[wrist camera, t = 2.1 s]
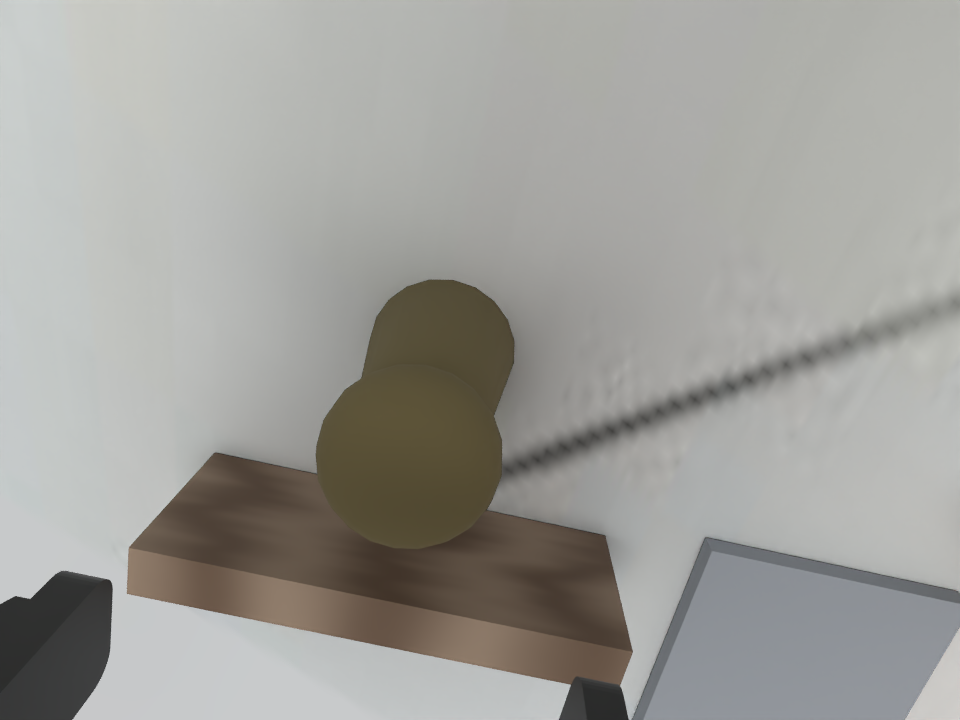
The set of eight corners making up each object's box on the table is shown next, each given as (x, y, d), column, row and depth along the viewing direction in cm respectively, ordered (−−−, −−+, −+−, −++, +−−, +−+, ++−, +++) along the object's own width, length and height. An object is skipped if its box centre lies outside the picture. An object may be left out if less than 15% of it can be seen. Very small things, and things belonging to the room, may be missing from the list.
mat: (705, 537, 30) (711, 550, 29) (957, 591, 30) (971, 606, 29) (628, 729, 34) (631, 747, 33) (851, 774, 34) (861, 793, 33)
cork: (443, 443, 28) (406, 622, 18) (340, 348, 27) (236, 483, 17) (545, 352, 27) (568, 493, 17) (440, 247, 26) (394, 328, 15)
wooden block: (605, 535, 30) (632, 651, 23) (593, 571, 30) (616, 693, 24) (214, 452, 29) (128, 547, 23) (211, 490, 30) (127, 593, 23)
